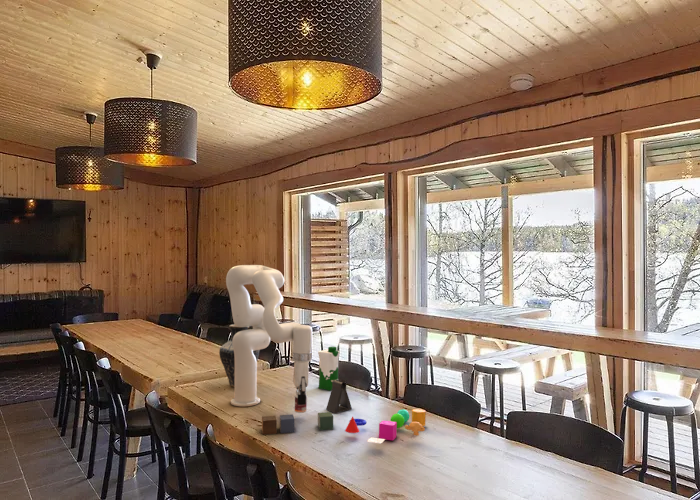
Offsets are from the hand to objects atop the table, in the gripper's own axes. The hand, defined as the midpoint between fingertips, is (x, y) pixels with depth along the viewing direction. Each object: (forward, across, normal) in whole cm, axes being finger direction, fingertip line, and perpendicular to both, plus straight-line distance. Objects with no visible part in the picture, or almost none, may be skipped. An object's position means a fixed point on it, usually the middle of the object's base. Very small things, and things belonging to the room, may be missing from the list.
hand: (300, 401), depth 200 cm
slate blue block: (+6, +13, -7) cm, 16 cm away
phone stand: (+7, -7, +17) cm, 20 cm away
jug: (+8, -55, -23) cm, 60 cm away
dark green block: (+6, +13, +8) cm, 16 cm away
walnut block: (+6, +13, -13) cm, 19 cm away
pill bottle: (+4, 0, 0) cm, 4 cm away
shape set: (+6, +25, +28) cm, 38 cm away
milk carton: (+7, -41, +19) cm, 46 cm away
